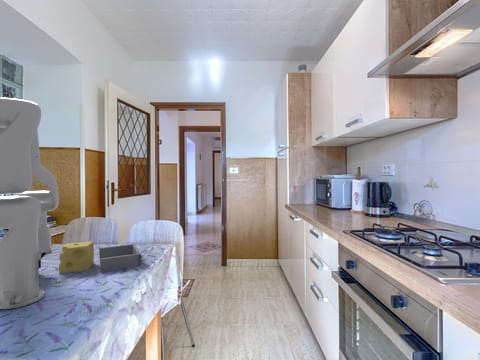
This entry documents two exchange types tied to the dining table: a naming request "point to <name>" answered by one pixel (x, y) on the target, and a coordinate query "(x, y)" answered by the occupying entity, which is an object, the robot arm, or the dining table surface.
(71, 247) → the cheese
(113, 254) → the bin
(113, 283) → the dining table surface
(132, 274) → the dining table surface
